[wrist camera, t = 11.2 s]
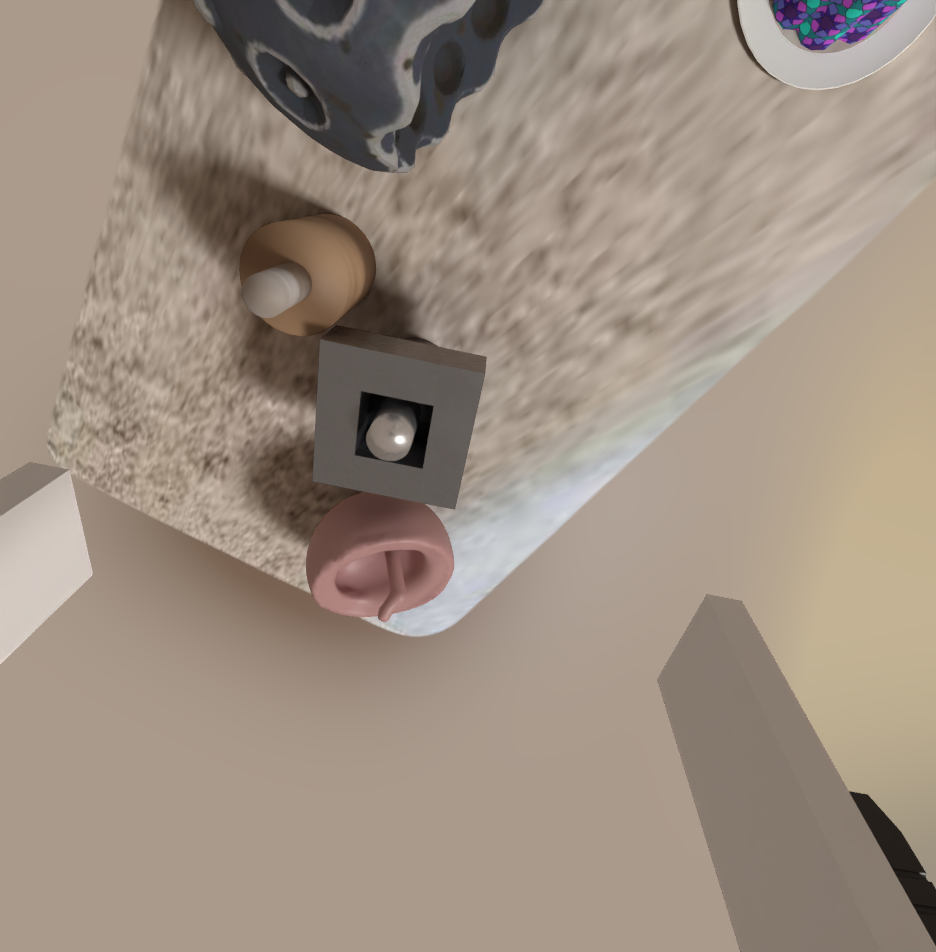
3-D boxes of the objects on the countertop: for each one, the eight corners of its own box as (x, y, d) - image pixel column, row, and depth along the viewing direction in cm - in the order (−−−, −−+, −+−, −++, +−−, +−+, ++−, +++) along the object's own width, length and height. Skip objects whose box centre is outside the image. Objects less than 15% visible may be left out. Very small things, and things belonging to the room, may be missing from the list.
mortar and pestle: (399, 589, 53) (375, 684, 43) (304, 517, 49) (254, 603, 39) (484, 523, 48) (480, 613, 38) (387, 438, 44) (355, 513, 34)
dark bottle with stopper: (406, 318, 39) (376, 363, 30) (475, 378, 41) (468, 438, 32) (354, 384, 42) (310, 444, 32) (421, 437, 44) (398, 508, 35)
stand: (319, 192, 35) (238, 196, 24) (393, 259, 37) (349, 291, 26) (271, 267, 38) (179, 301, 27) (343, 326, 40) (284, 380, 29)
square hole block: (336, 325, 34) (320, 339, 31) (486, 357, 34) (485, 373, 31) (327, 457, 39) (312, 481, 36) (458, 484, 39) (455, 509, 36)
